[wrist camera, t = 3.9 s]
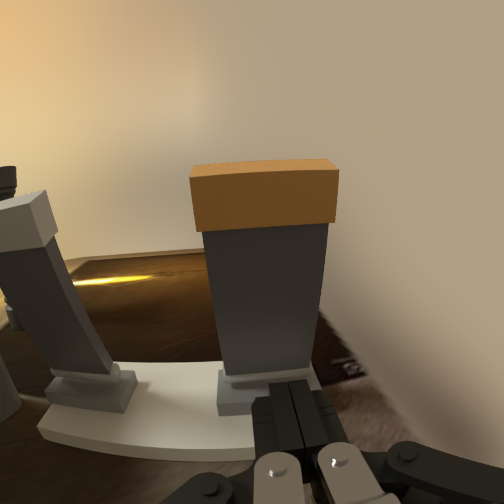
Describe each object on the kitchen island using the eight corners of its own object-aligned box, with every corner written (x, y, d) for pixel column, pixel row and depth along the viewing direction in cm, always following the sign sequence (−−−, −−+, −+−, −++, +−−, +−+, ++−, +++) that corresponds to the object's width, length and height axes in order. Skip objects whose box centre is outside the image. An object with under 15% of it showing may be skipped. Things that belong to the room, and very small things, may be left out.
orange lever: (310, 380, 21) (339, 169, 12) (225, 388, 20) (189, 177, 12) (306, 361, 22) (327, 158, 14) (224, 369, 22) (193, 165, 13)
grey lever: (118, 387, 20) (29, 202, 12) (56, 380, 20) (-35, 219, 11) (122, 370, 21) (45, 189, 13) (62, 365, 21) (-19, 206, 13)
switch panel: (331, 448, 16) (336, 423, 16) (41, 438, 15) (27, 413, 15) (301, 366, 27) (302, 342, 27) (86, 371, 26) (78, 349, 26)
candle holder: (34, 329, 35) (7, 164, 30) (5, 330, 33) (-22, 173, 28) (45, 314, 41) (23, 167, 35) (18, 316, 39) (-5, 174, 34)
